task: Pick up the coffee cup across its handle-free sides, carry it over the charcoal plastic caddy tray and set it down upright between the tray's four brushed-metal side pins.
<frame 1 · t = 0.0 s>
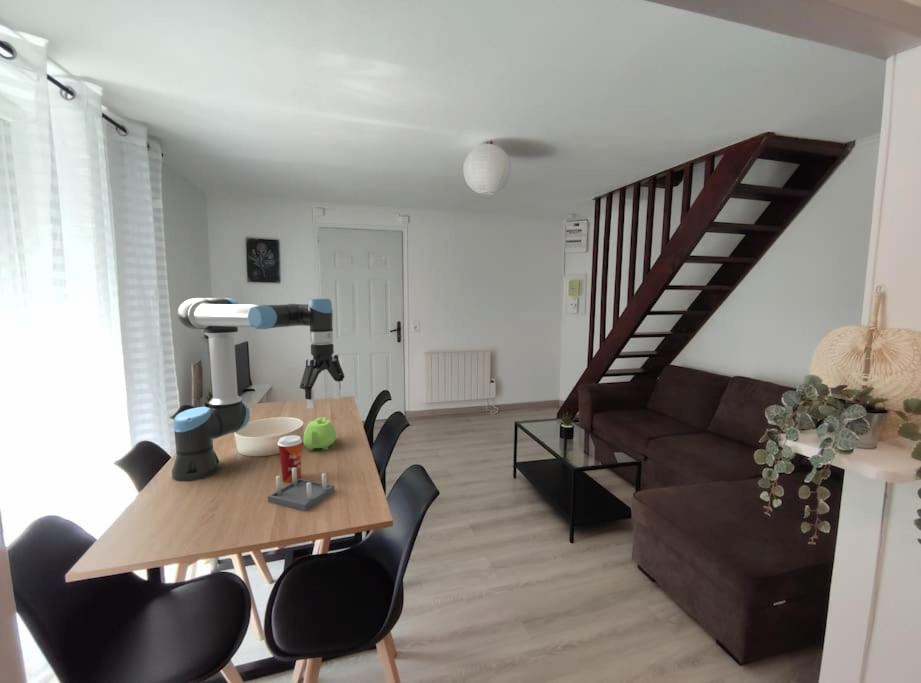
hand: (324, 403, 145), 28 cm above the table, fingers open, 13 cm apart
coffee cup: (291, 479, 149), on the table
tray: (302, 496, 136), on the table
teapot: (320, 447, 180), on the table
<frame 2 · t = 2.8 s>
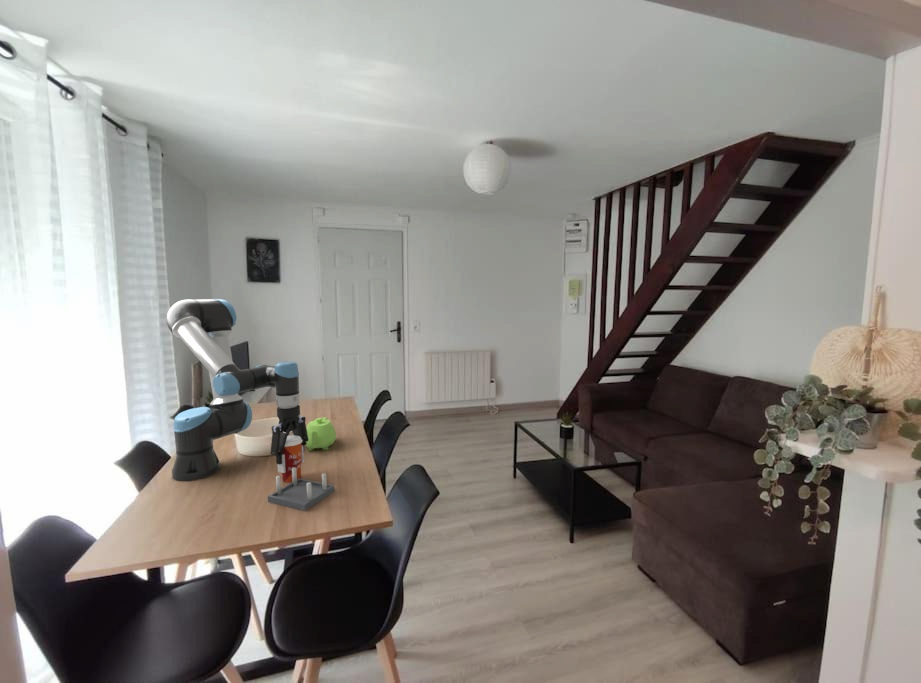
hand: (291, 467, 148), 4 cm above the table, fingers closed on coffee cup, 8 cm apart
coffee cup: (291, 479, 149), on the table, touching gripper
everything else where it was.
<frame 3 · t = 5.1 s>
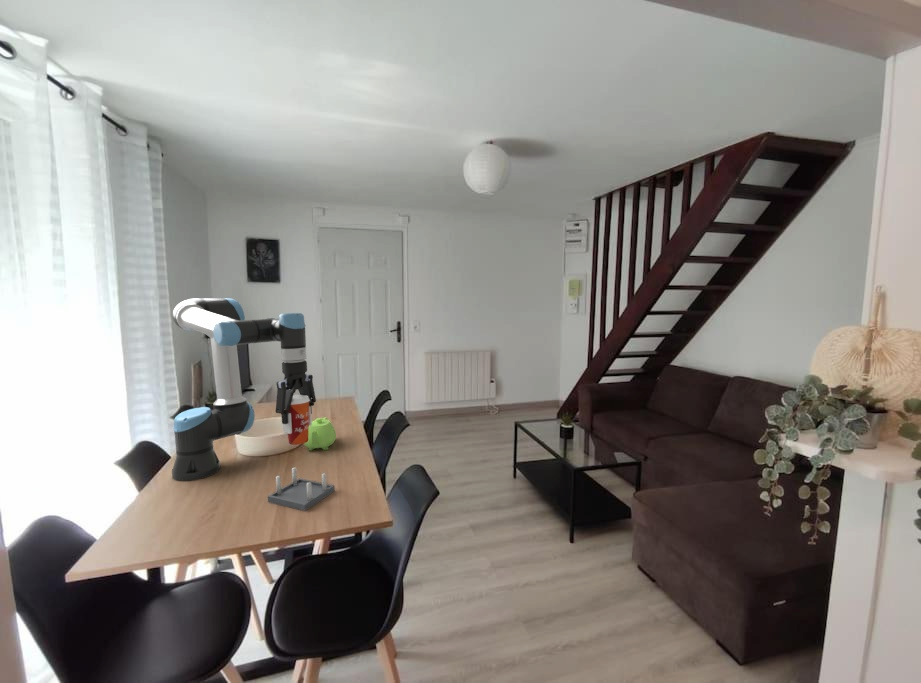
hand: (298, 428, 136), 22 cm above the table, fingers closed on coffee cup, 8 cm apart
coffee cup: (298, 442, 136), point 18 cm above the table, touching gripper
everything else where it was.
when the fingers open (6 cm above the table, at t = 7.5 s): coffee cup stays where it is, resting on tray.
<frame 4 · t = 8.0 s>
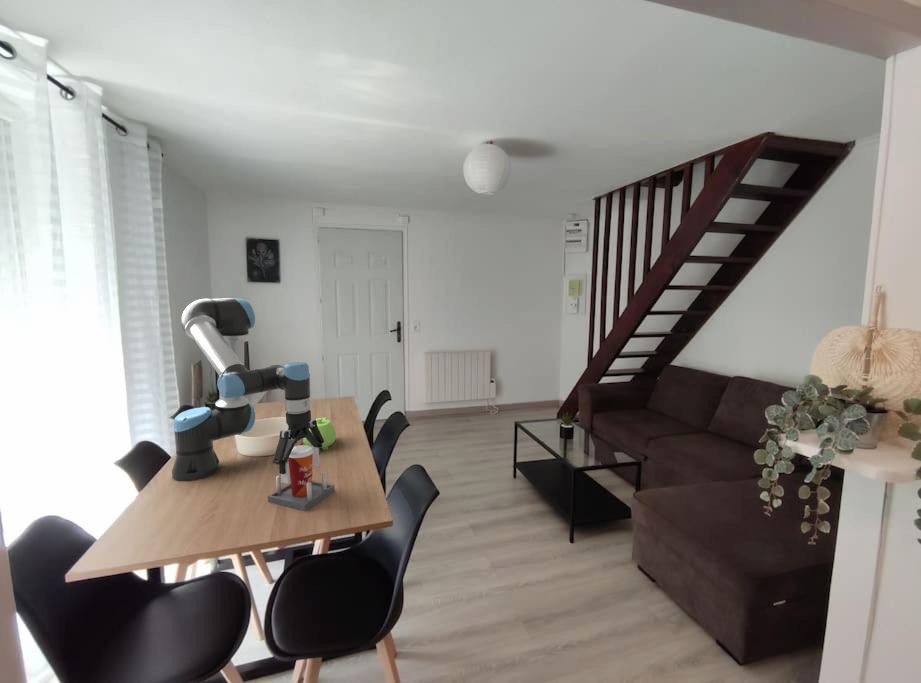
hand: (301, 474, 135), 8 cm above the table, fingers open, 13 cm apart
coffee cup: (302, 493, 136), point 1 cm above the table, touching tray
everything else where it was.
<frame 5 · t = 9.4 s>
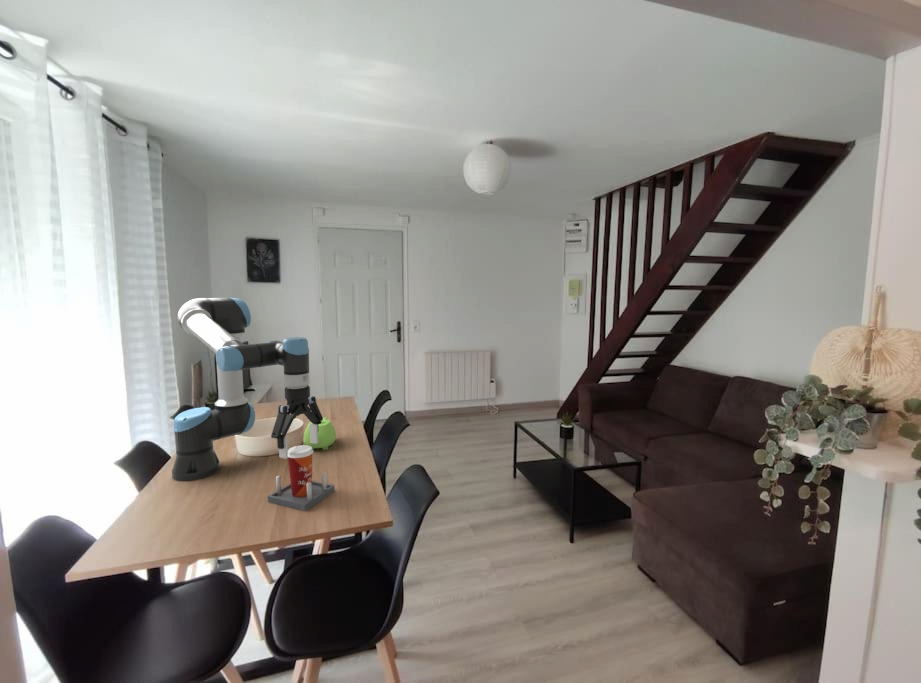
hand: (299, 450, 134), 16 cm above the table, fingers open, 13 cm apart
nothing on the table moved.
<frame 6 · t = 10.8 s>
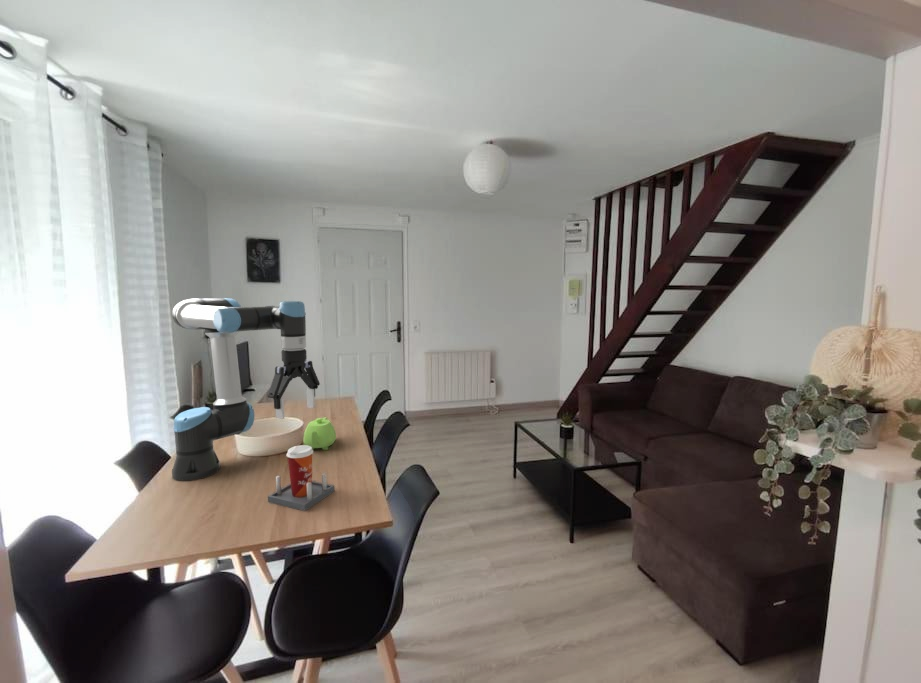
hand: (296, 412, 136), 27 cm above the table, fingers open, 13 cm apart
nothing on the table moved.
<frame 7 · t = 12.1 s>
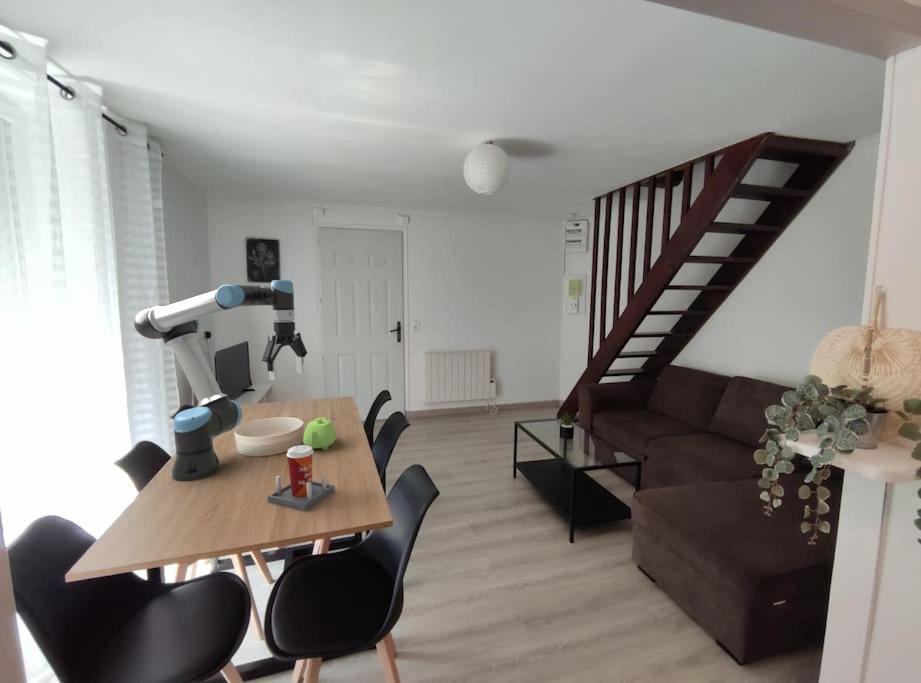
hand: (286, 376, 159), 35 cm above the table, fingers open, 13 cm apart
nothing on the table moved.
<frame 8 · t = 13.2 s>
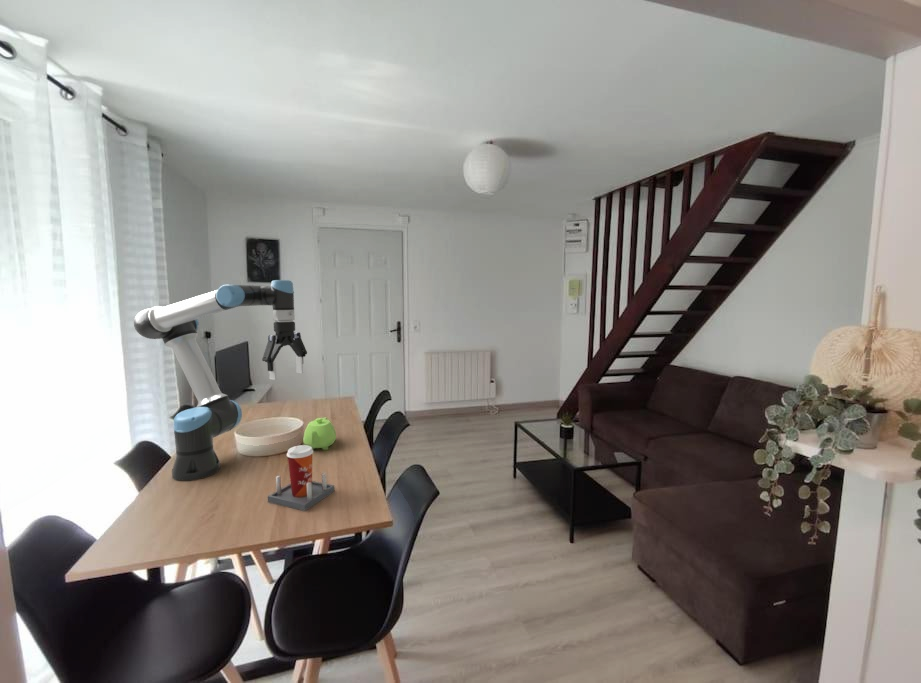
hand: (286, 376, 159), 35 cm above the table, fingers open, 13 cm apart
nothing on the table moved.
at the end: coffee cup 0.1 cm off-centre on the tray, point 1.0 cm above the tray's base; coffee cup tilted 0°; the gripper is holding nothing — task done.
